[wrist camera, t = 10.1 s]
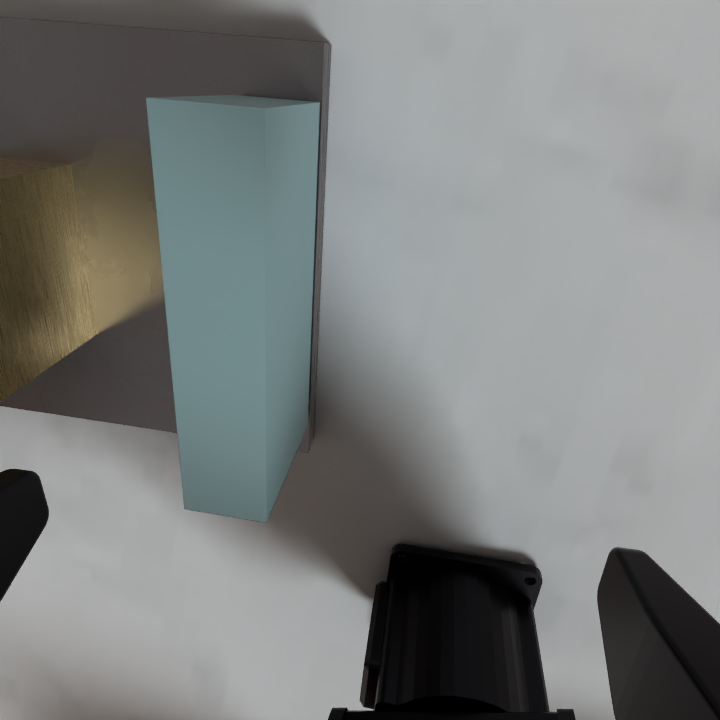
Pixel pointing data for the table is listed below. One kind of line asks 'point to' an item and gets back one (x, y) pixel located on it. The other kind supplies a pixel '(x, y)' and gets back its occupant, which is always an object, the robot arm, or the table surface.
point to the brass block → (40, 271)
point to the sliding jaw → (236, 288)
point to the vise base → (133, 185)
